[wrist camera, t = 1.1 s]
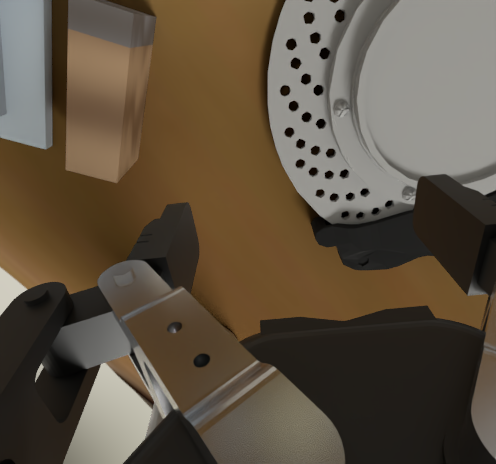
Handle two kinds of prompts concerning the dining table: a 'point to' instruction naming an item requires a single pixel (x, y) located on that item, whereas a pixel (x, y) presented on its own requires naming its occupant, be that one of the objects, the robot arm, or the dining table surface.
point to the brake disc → (384, 114)
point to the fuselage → (106, 86)
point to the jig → (26, 72)
